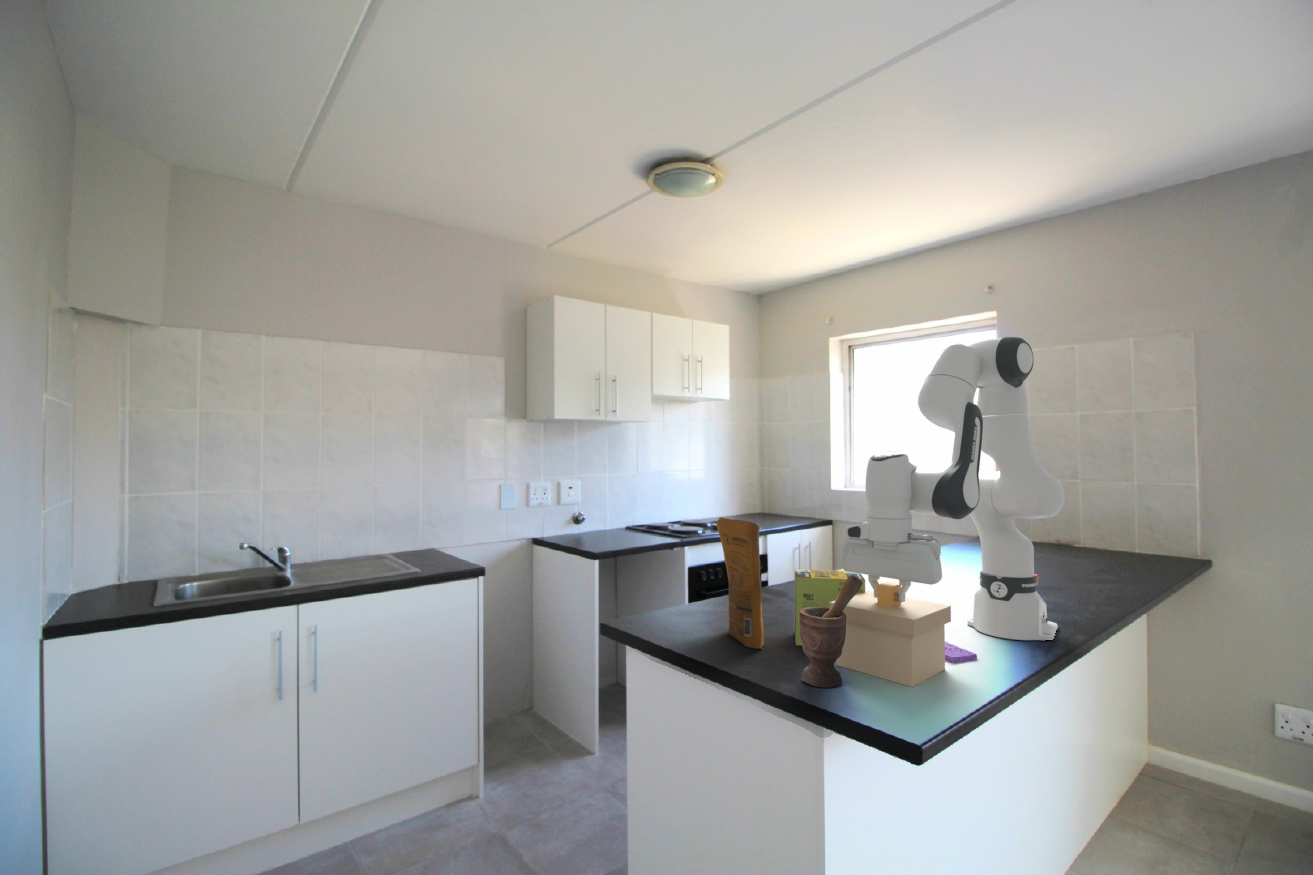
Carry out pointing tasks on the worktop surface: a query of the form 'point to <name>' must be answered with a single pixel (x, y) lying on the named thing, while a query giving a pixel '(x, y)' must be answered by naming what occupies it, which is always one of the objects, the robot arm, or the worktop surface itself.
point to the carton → (893, 653)
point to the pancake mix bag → (743, 580)
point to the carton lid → (895, 612)
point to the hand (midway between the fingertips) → (889, 599)
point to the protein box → (818, 591)
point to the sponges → (958, 654)
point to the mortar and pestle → (826, 636)
